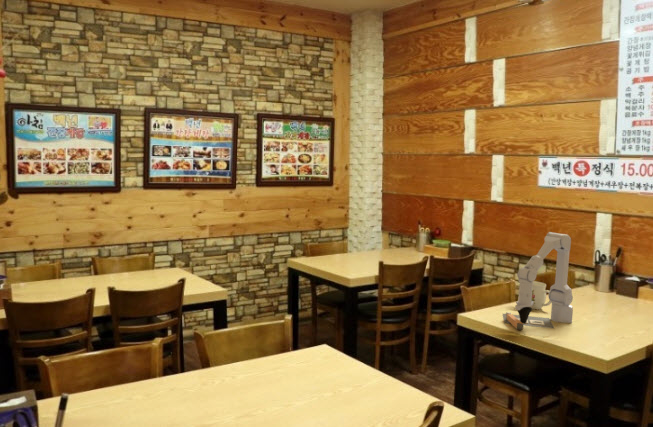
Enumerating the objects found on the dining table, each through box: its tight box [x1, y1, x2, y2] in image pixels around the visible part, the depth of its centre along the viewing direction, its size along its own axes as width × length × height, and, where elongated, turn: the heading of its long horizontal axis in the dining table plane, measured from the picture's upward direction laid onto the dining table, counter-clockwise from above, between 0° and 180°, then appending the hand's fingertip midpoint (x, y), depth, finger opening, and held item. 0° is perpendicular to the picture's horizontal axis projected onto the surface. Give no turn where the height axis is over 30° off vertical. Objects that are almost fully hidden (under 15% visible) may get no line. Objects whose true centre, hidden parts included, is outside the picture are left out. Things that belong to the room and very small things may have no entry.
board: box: [502, 311, 555, 329], centre depth 272 cm, size 22×18×5 cm
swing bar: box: [507, 313, 524, 331], centre depth 260 cm, size 16×3×3 cm, turn 179°
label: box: [530, 320, 544, 326], centre depth 268 cm, size 6×6×1 cm
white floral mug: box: [530, 280, 552, 310], centre depth 299 cm, size 11×18×14 cm, turn 35°
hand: (523, 322), depth 261 cm, fingers closed
